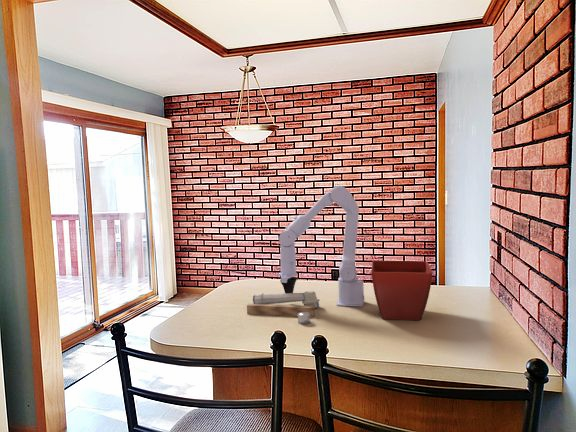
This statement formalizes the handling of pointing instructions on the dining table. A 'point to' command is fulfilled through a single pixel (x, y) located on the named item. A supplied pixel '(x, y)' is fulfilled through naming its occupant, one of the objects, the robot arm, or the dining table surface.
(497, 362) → the dining table surface
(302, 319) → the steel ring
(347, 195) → the robot arm
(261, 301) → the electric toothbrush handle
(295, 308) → the brown wooden bar
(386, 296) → the plant pot
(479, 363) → the dining table surface
